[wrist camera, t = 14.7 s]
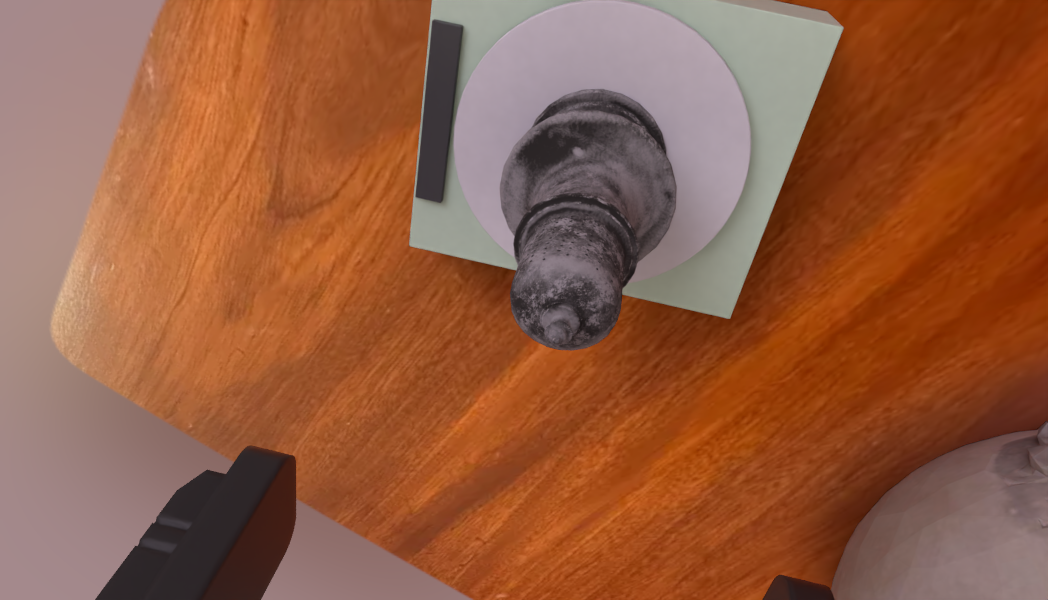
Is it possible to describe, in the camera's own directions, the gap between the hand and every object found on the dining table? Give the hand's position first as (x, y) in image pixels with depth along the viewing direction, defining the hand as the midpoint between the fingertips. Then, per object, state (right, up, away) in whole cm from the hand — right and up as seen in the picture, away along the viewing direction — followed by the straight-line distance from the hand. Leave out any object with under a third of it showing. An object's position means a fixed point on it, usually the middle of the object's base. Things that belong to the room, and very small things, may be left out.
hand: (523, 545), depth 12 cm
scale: (+3, +11, +18) cm, 22 cm away
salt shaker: (+3, +9, +15) cm, 18 cm away
